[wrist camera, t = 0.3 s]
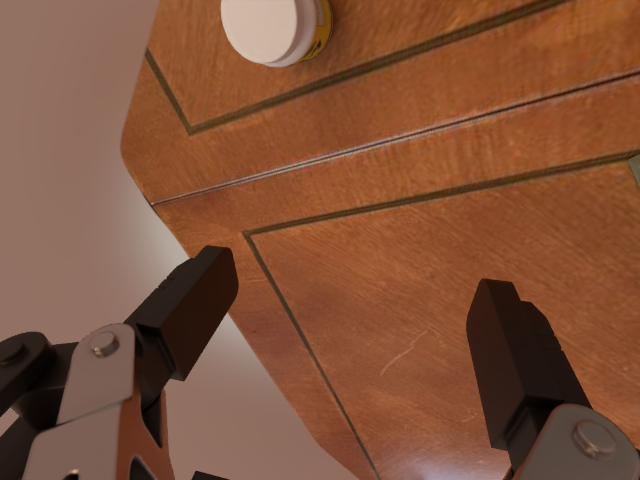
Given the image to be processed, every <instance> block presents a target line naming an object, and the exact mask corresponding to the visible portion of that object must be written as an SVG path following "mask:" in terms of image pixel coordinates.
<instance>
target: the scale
mask: <svg viewBox="0 0 640 480" xmlns="http://www.w3.org/2000/svg"><path fill="white" fill-rule="evenodd" d="M628 163H629V165H630V167H631V169H632V172H633V174H634V176H635V178H636V181H637V183H638V185H639V187H640V154H638V155H636V156H634V157H632V158H630V159H628Z"/></svg>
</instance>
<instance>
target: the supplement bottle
mask: <svg viewBox="0 0 640 480" xmlns="http://www.w3.org/2000/svg"><path fill="white" fill-rule="evenodd" d="M221 17H222V23H223V27H224V30H225V33H226V35H227V37H228V39H229V41H230V43H231V44H232V46H233V47H234V48H235V49H236V50H237V52H238V53H239V54H241V55H242V56H243V57H245V58H246V59H248V60H250V61H252V62H255V63H261V64H264V65H266V66H270V67H286V66H290V65H293V64H296V63H299V62H302V61H306V60H309V59H311V58H313V57H315V56H317V55H318V54H319V53H320V52H321V51H322V50H323V49H324V48H325V46H326V45H327V43H328V41H329V39H330V37H331V33H332V29H333V12H332V8H331V4H330V2H329V0H222V2H221Z"/></svg>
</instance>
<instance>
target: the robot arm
mask: <svg viewBox="0 0 640 480" xmlns="http://www.w3.org/2000/svg"><path fill="white" fill-rule="evenodd" d="M238 287H239V283H238V277H237V273H236V268H235V263H234V259H233V254H232V251H231V249H230V248H227V247H218V246H209V245H208V246H205V247H204V248H203V249H202V250H201V251H200V253H199V254H198V255H197V256H196V257H195V258H190V259H189V260H187V261H185V262H184V263H182V264H180V265H179V266H177V267H176V268H175V269H174V270H173V271H172V272H171V273H170V274H169V276H167V279H165V280H164V281H163V282H162V283H161V284H160V285H159V286H158V288H156V289H155V290H154V291H153V292H152V293H151V294H150V295H149V296H148V297H147V298H146V299H145V300H144V302H143V303H142V304H141V305H140V306H139V307H138V308H137V309H136V310H135V311H134V312H133V313H132V314H131V315H130V316H129V317H128V318H127V319H126V320H125V321H124V322H123V323H116V324H110V325H107V326H104V327H101V328H99V329H97V330H95V331H93V332H91V333H90V334H89V335H87V336H86V337H85V338H83V339H82V340H81V341H80V342H74V343H65V344H56V345H51V343H50V342H49V341H48V339H47V338H46V337H45V336H44V334H42V333H40V332H26V333H21V334H18V335H15V336H12V337H10V338H8V339H6V340H4V341H2V342H0V417H1V416H2V415H3V414H4V413H5V412H6V411H7V410H8V409H9V408H10V407H11V408H12V409H13V410H14V411H15V412H16V413H17V414H18V415H19V418H18V419H17V420H16V421H15V422H14V423H13V424H12V425H11V426H10V427H9V428H8V429H7V430H6V432H5V433H4V434H3V435H2V436H1V437H0V480H175V477H174V472H173V469H172V465H171V462H170V457H169V449H168V430H167V411H166V393H165V390H164V386H165V385H166V383H167V382H168V380H169V379H175V380H179V381H185V379H186V378H187V376H188V374H189V373H190V371H191V369H192V368H193V366H194V365H195V363H196V361H197V360H198V358H199V356H200V355H201V353H202V352H203V350H204V349H205V347H206V345H207V344H208V342H209V340H210V339H211V337H212V336H213V334H214V332H215V331H216V329H217V328H218V326H219V324H220V323H221V321H222V320H223V318H224V316H225V315H226V313H227V311H228V310H229V308H230V307H231V305H232V303H233V302H234V300H235V298H236V296H237V293H238ZM466 331H467V338H468V342H469V347H470V351H471V356H472V361H473V365H474V370H475V374H476V379H477V384H478V388H479V393H480V397H481V402H482V407H483V411H484V416H485V421H486V425H487V430H488V434H489V439H490V444H491V448H496V449H501V450H505V451H508V453H509V457H510V461H511V465H512V466H511V467H510V468H509V470H508V471H507V473H506V475H505V477H504V478H503V480H640V450H638V449H636V448H635V446H634V445H633V443H632V442H631V441H630V439H629V438H628V437H627V436H626V434H625V433H624V432H623V431H622V430H621V429H620V428H619V427H618V426H617V425H615V424H614V423H613V422H612V421H611V420H609V419H608V418H606V417H605V416H603V415H602V414H600V413H598V412H596V411H594V410H593V408H592V407H591V405H590V403H589V401H588V399H587V397H586V395H585V393H584V391H583V389H582V387H581V385H580V383H579V381H578V379H577V377H576V375H575V373H574V371H573V369H572V367H571V365H570V363H569V361H568V359H567V357H566V355H565V354H564V352H563V351H562V350H561V346H560V344H559V342H558V340H557V338H556V337H555V336H554V332H553V330H552V328H551V326H550V324H549V322H548V320H547V318H546V317H545V316H544V315H543V314H542V313H541V312H540V311H539V310H538V309H537V308H536V307H535V306H534V305H533V304H532V303H531V302H526V301H521V300H520V298H519V296H518V293H517V291H516V289H515V287H514V285H513V283H512V282H509V281H501V280H492V279H484V278H483V279H481V280H480V282H479V284H478V287H477V290H476V293H475V296H474V298H473V301H472V304H471V307H470V310H469V313H468V316H467V323H466ZM192 480H229V479H225V478H221V477H218V476H214V475H210V474H206V473H202V472H199V471H195V473H194V476H193V478H192Z"/></svg>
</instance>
